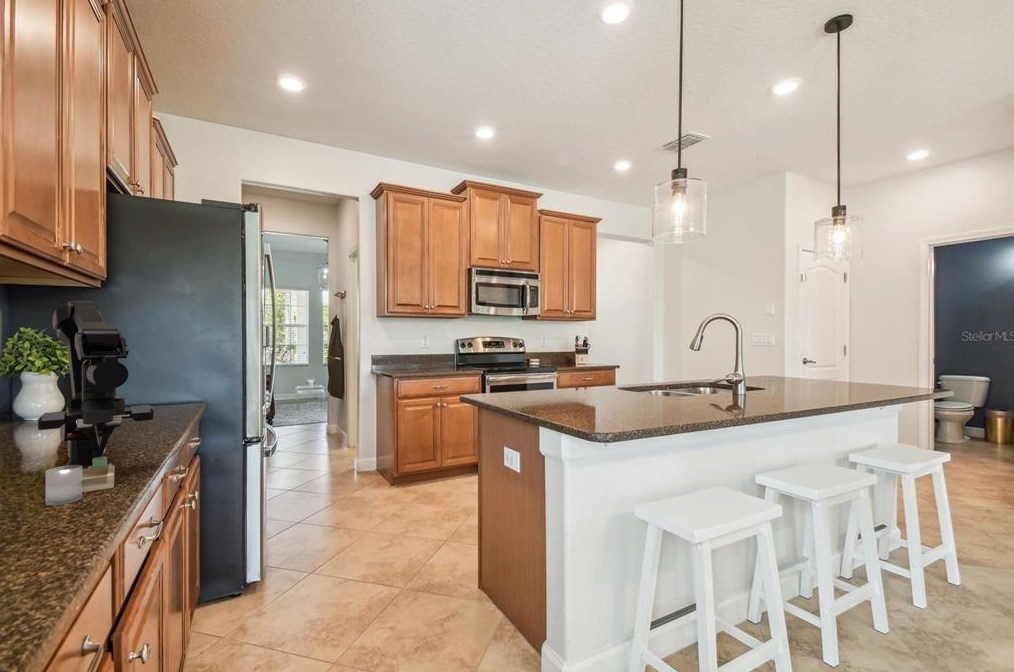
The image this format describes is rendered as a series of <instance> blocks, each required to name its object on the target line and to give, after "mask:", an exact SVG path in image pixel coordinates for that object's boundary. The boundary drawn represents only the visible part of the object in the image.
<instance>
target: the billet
mask: <svg viewBox="0 0 1014 672" xmlns="http://www.w3.org/2000/svg"><path fill="white" fill-rule="evenodd" d="M66 465H67V464H66ZM66 465H63V466H56V467H55V466H54V467H52V468H48V469H47V470H45V505H46V506H62V505H67V504H71V503H75V502H79V500H82V499H83V492H82V469H83V466H82V465H67V466H66Z"/></svg>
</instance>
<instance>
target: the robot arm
mask: <svg viewBox="0 0 1014 672" xmlns="http://www.w3.org/2000/svg"><path fill="white" fill-rule="evenodd" d="M52 329H53V330H56V337H57V339H58V340H59V341H61V342H62V343H63V344H64V345H65V346H66V347H67V355H68V356H67V358H68V365H69V366H68V367H69V374H70V383H71V384H70V385H71V395H72V399H71V400H70V402H69V403H68V405H67V407H66V410H65V411H51V412H44V413H43V414H42V415H40V416H39V418H38V420H37V431H46V430H55V429H58V430H59V439H60V440H61V441H62V442H68V441H70V458H69V459H68V460H67V462H66V465H65V466H67V465H82V467H83V466H93V458H97V457H105V455H104V454H103V452H104V449H105V447H106V448H107V443H108V441H109V439H110V438H111V437H110V436H111V435H112V434H113V431H114V430H115V428H119V427H122V420H123V419H132V420H133V421H134V422H145V421H152V420H154V407H153V406H151V404H147V405H146V404H145V405H144V404H142V405H131V409H125V405H126V403H125V402H126V401H125V397H119V398H118V397H117V390H118V389H117V388H119V387H121V386H123V385H124V384H125V383H126V382H127V381H128V378H129V371H128V368H127V367H126V365H124V364H123V363H121V362H119V360H120V359H123V360H124V359H128V355H129V348H128V347H129V346H128V343H127V340H126V337H124V335H123V333H122V332H120V330H119V328H117V327H116V326H115V325H113V324H109V323H105V320H104V319H103V317H102V314H101V310H100V309H99V307H98V302H94V301H93V300H91V301H90V300H86V301H85V300H72V301H68V303H67V305H64V306H62V307H59V308H57V309H55V311H54V312H53V316H52ZM68 433H70V434H71V435H68ZM80 433H81V434H80ZM72 434H73V435H72ZM102 454H103V455H102Z"/></svg>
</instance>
